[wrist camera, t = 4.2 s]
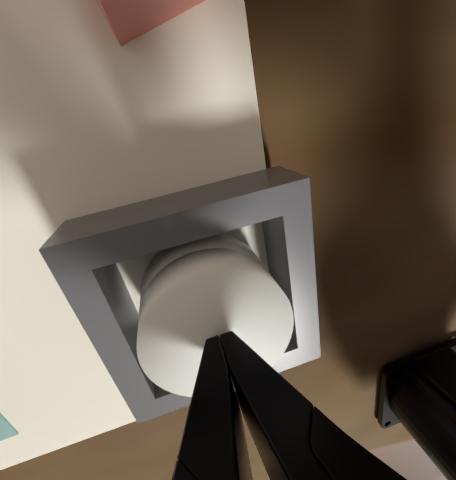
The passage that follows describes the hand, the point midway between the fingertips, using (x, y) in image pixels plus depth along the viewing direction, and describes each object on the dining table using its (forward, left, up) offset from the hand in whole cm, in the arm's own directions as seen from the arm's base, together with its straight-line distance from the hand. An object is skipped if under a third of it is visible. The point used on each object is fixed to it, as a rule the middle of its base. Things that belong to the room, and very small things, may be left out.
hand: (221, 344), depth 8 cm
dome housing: (0, 0, -4) cm, 4 cm away
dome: (0, 0, -3) cm, 3 cm away
